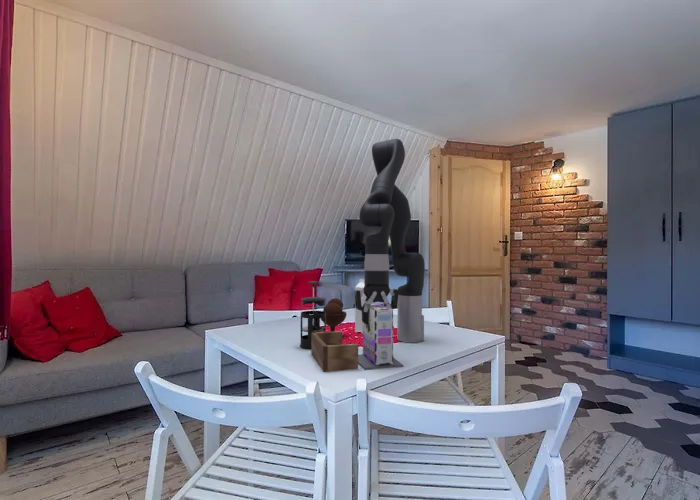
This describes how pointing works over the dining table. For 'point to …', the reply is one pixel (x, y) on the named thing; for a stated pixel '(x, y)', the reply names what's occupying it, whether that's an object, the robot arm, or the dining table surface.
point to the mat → (368, 365)
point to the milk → (358, 312)
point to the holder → (333, 351)
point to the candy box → (378, 335)
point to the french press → (312, 319)
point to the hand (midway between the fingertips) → (376, 323)
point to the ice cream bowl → (334, 313)
